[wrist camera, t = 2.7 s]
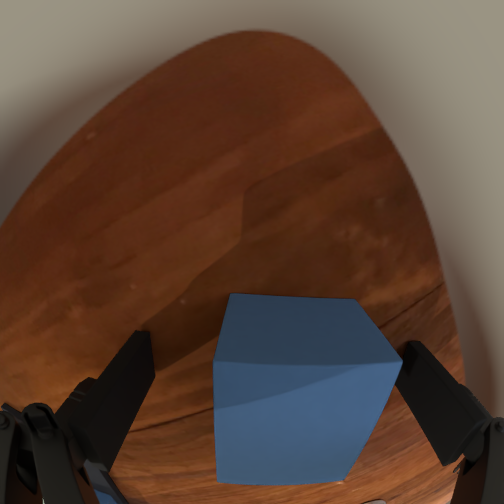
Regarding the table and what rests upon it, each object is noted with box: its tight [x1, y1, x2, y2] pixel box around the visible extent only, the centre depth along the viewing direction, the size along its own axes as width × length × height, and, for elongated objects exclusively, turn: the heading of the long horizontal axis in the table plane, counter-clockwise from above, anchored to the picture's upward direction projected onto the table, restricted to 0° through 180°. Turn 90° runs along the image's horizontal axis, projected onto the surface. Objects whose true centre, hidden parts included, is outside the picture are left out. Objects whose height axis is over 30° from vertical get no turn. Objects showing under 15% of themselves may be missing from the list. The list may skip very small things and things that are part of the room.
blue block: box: [213, 293, 403, 485], centre depth 10 cm, size 7×6×5 cm
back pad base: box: [1, 403, 128, 504], centre depth 16 cm, size 18×12×4 cm, turn 176°
